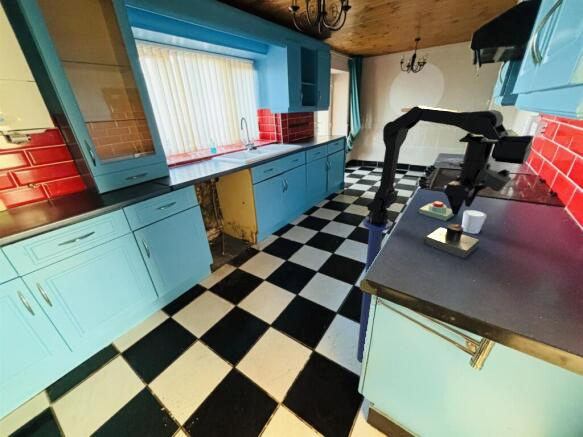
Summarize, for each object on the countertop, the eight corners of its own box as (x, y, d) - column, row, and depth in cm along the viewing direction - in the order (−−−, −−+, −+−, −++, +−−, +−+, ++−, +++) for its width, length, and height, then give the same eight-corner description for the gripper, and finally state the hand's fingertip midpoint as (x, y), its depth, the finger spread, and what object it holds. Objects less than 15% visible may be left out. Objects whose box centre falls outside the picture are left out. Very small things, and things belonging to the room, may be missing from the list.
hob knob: (457, 242, 77) (460, 231, 75) (442, 237, 80) (445, 226, 78) (462, 238, 79) (465, 226, 77) (448, 233, 82) (451, 222, 81)
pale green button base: (418, 213, 106) (420, 204, 104) (428, 207, 111) (430, 199, 109) (445, 220, 98) (447, 212, 96) (454, 214, 103) (456, 206, 101)
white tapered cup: (466, 224, 94) (470, 208, 91) (485, 231, 88) (491, 214, 85) (455, 228, 91) (459, 212, 89) (474, 236, 86) (479, 218, 83)
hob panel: (425, 243, 83) (427, 236, 81) (438, 234, 88) (440, 227, 87) (464, 258, 74) (467, 250, 73) (476, 247, 79) (479, 239, 78)
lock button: (431, 206, 103) (432, 202, 102) (435, 204, 105) (436, 200, 104) (440, 208, 100) (441, 204, 100) (444, 206, 102) (445, 202, 102)
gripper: (500, 170, 55) (481, 229, 62) (523, 157, 65) (504, 209, 72) (448, 163, 63) (436, 216, 70) (475, 153, 73) (462, 200, 80)
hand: (461, 210), depth 73 cm, fingers open, 9 cm apart
